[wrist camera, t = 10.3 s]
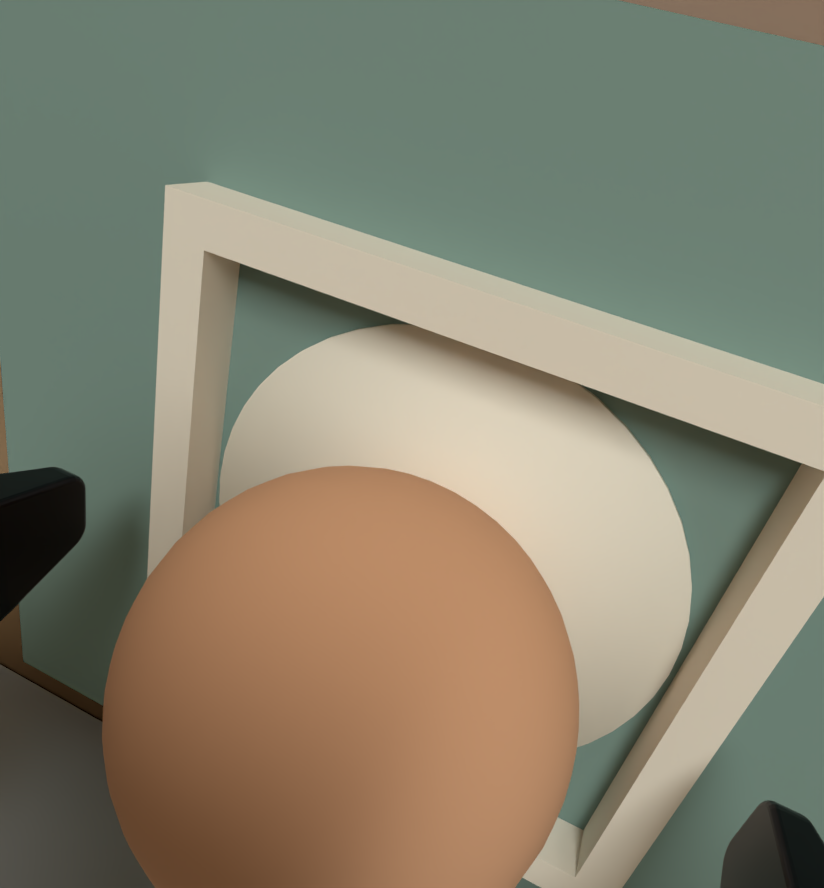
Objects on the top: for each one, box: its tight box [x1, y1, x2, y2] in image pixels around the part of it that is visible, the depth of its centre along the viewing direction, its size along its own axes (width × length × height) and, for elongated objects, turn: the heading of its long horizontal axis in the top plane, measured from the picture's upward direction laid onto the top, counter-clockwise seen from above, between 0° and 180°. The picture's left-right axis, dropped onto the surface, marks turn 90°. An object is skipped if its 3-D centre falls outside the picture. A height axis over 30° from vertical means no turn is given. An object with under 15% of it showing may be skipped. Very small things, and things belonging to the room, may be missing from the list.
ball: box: [102, 466, 579, 888], centre depth 8 cm, size 5×5×5 cm
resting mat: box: [0, 0, 824, 888], centre depth 10 cm, size 16×14×1 cm
